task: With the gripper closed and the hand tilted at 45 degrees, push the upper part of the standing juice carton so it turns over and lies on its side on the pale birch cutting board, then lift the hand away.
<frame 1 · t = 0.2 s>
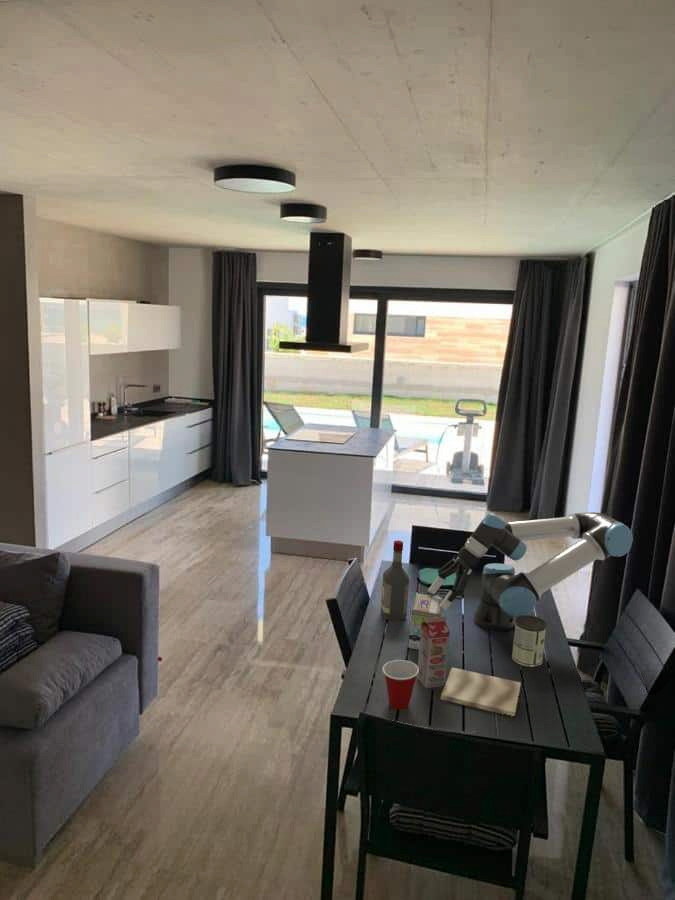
hand: (436, 599, 238), 16 cm above the table, tool tilted 35°, fingers open, 13 cm apart
liquor: (393, 616, 260), on the table
cutting board: (481, 692, 209), on the table
coffee can: (526, 660, 231), on the table
juice carton: (430, 681, 214), on the table
tea box: (424, 641, 241), on the table, touching gripper
plastic cup: (397, 705, 200), on the table
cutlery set: (439, 585, 294), on the table
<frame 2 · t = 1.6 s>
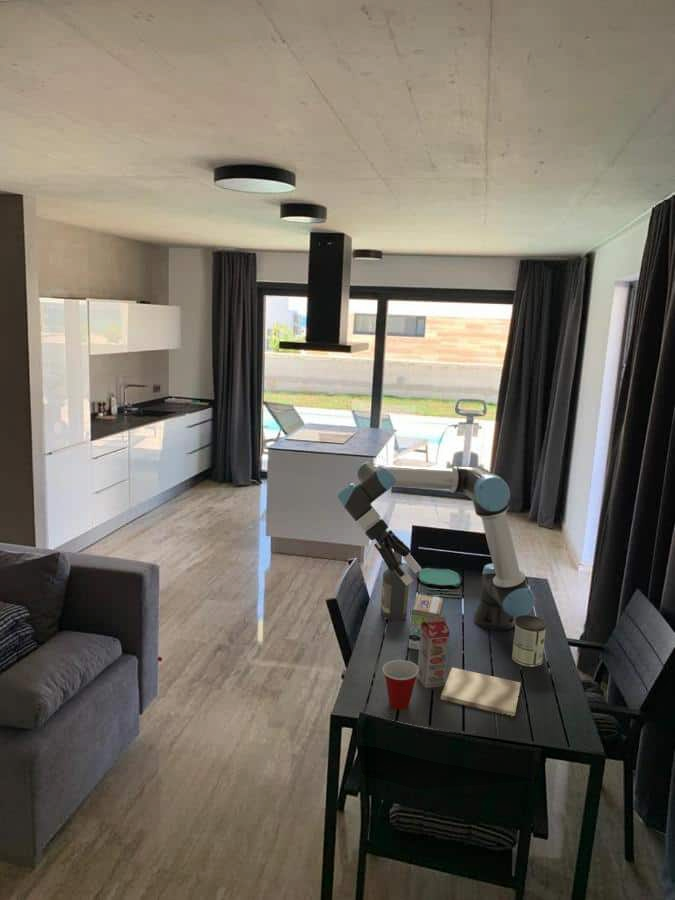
hand: (414, 577, 222), 29 cm above the table, tool tilted 45°, fingers open, 11 cm apart
tea box: (424, 641, 241), on the table
everything else where it was.
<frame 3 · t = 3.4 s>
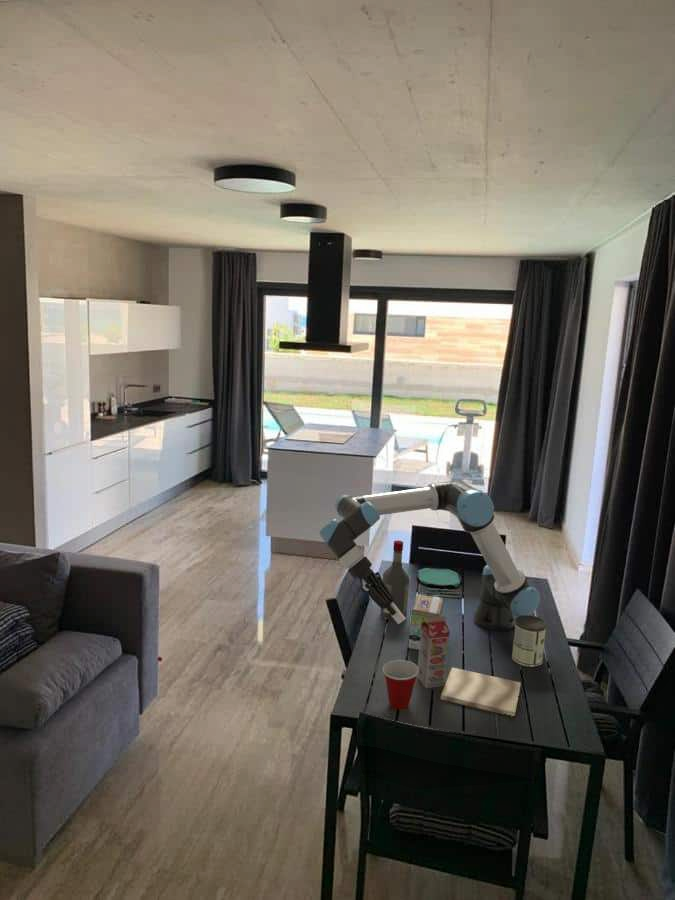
hand: (401, 621, 214), 18 cm above the table, tool tilted 45°, fingers closed
nothing on the table moved.
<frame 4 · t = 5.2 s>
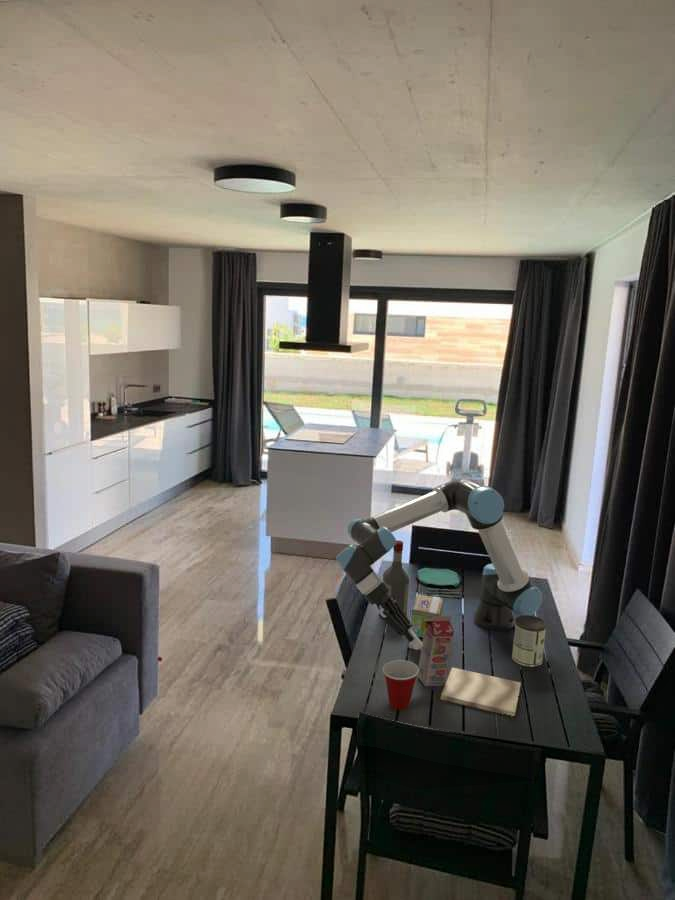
hand: (419, 647, 213), 11 cm above the table, tool tilted 45°, fingers closed
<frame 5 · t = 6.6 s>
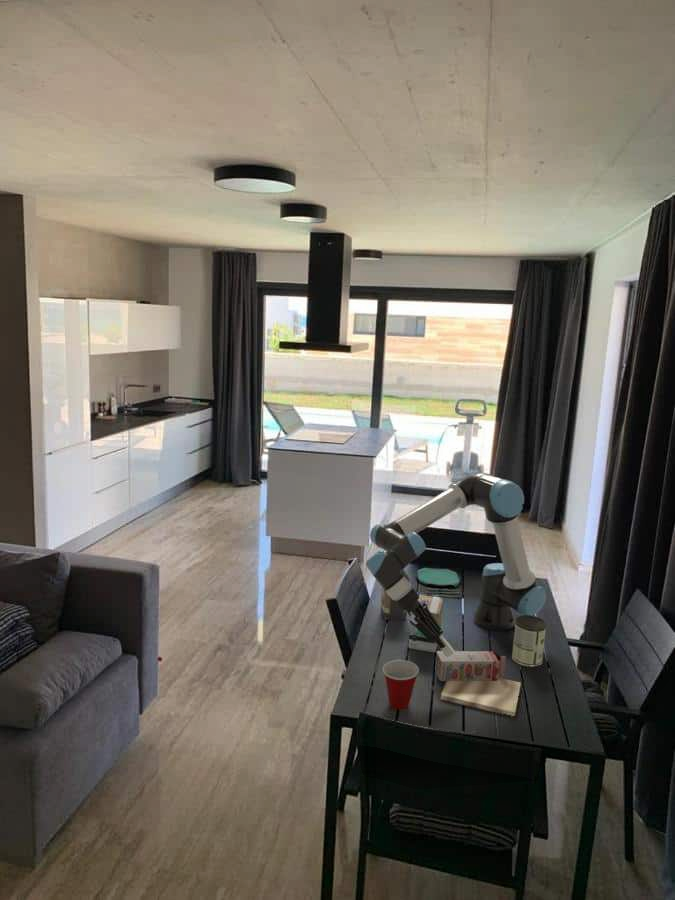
hand: (451, 654, 209), 11 cm above the table, tool tilted 45°, fingers closed
juice carton: (437, 666, 214), point 5 cm above the table, touching cutting board
everything else where it was.
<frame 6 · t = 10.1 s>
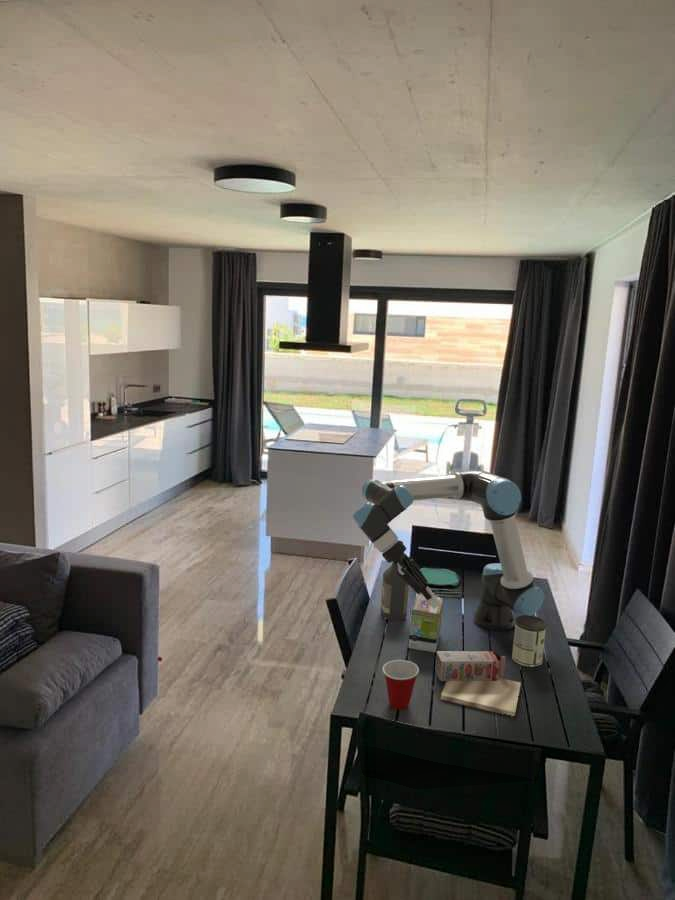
hand: (437, 605, 210), 25 cm above the table, tool tilted 45°, fingers closed
nothing on the table moved.
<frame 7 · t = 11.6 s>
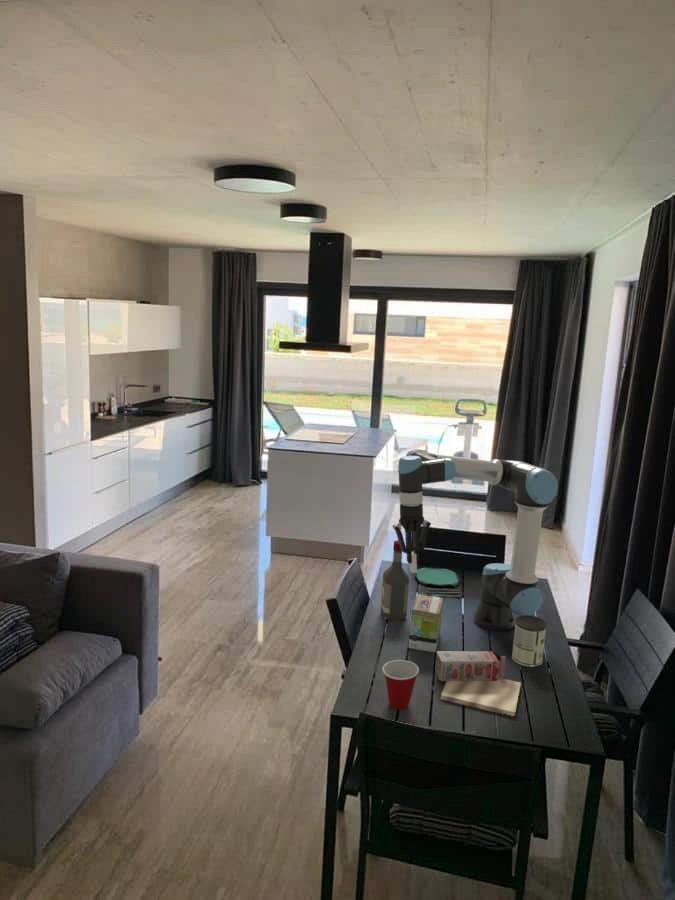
hand: (413, 571, 224), 30 cm above the table, tool pointing down, fingers closed
nothing on the table moved.
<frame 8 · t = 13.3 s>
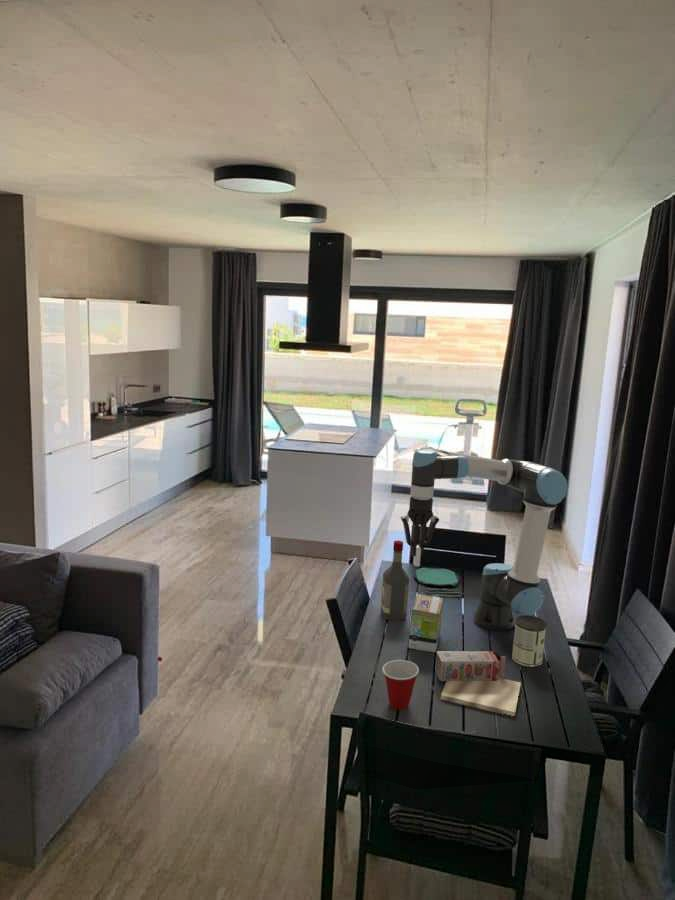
hand: (416, 564, 225), 32 cm above the table, tool pointing down, fingers closed
at the end: juice carton tilted 90°; juice carton touching cutting board; the gripper is holding nothing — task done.
